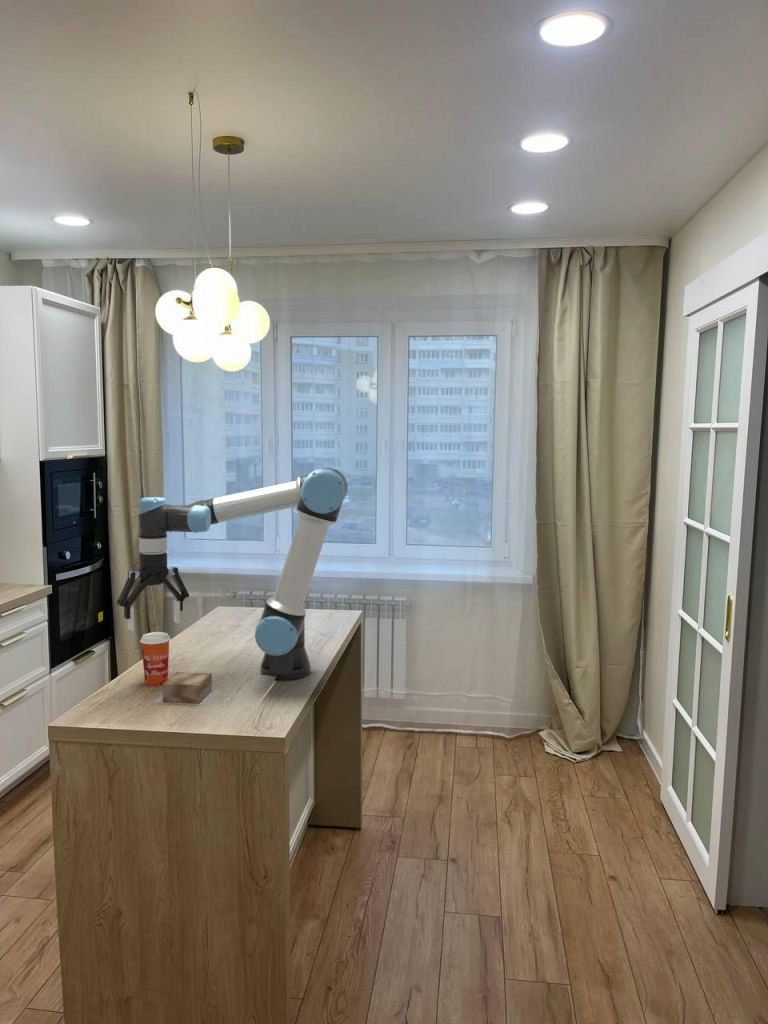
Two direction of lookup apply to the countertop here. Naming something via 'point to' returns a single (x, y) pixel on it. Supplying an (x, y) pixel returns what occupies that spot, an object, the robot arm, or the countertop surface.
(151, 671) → the coffee cup
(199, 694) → the pedestal
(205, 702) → the build plate
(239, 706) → the countertop surface
